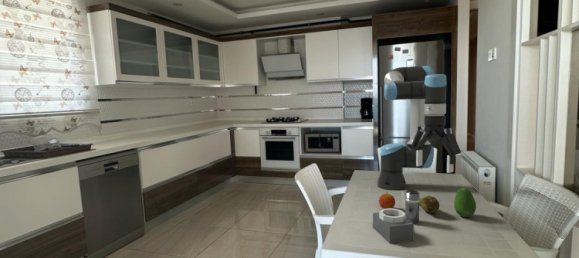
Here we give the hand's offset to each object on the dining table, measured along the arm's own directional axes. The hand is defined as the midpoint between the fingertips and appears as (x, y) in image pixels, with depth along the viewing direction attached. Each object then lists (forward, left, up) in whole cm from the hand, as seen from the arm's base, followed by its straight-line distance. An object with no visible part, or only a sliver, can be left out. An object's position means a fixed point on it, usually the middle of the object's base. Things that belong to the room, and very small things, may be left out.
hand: (433, 168), depth 124 cm
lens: (-1, -8, -21) cm, 23 cm away
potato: (-8, +4, -21) cm, 23 cm away
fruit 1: (-16, -11, -21) cm, 29 cm away
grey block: (+7, -21, -21) cm, 31 cm away
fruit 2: (0, +15, -21) cm, 26 cm away
